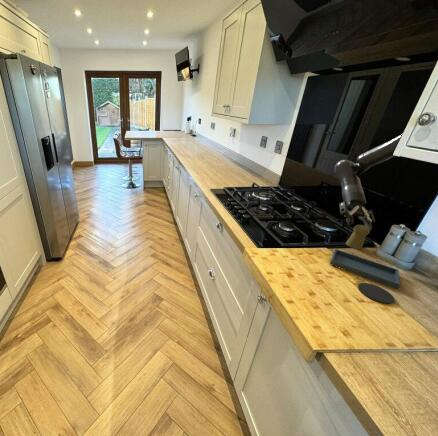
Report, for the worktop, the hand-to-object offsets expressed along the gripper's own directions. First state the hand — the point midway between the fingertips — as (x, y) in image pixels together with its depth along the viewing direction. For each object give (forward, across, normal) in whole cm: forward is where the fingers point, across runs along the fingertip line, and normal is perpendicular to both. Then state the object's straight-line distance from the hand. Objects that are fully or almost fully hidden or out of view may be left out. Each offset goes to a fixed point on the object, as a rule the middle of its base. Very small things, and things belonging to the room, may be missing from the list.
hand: (360, 227), depth 99 cm
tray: (+20, -4, -1) cm, 20 cm away
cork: (+7, +2, +7) cm, 10 cm away
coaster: (+32, -9, -7) cm, 34 cm away
